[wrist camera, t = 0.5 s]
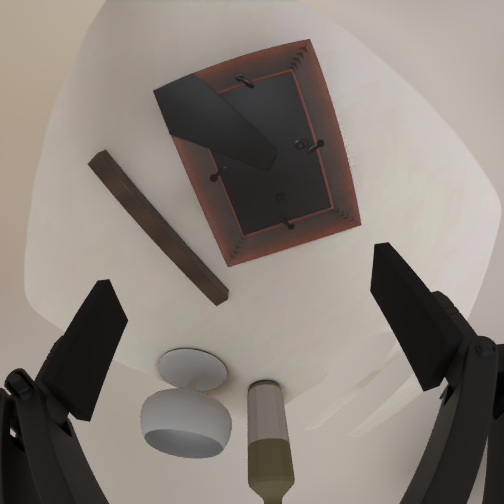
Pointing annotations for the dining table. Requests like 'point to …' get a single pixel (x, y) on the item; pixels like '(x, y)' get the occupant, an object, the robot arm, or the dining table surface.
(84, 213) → the dining table surface
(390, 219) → the dining table surface
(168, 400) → the chalice
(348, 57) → the dining table surface
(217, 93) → the picture frame
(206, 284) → the walnut rail
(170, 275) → the dining table surface
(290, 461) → the bottle
